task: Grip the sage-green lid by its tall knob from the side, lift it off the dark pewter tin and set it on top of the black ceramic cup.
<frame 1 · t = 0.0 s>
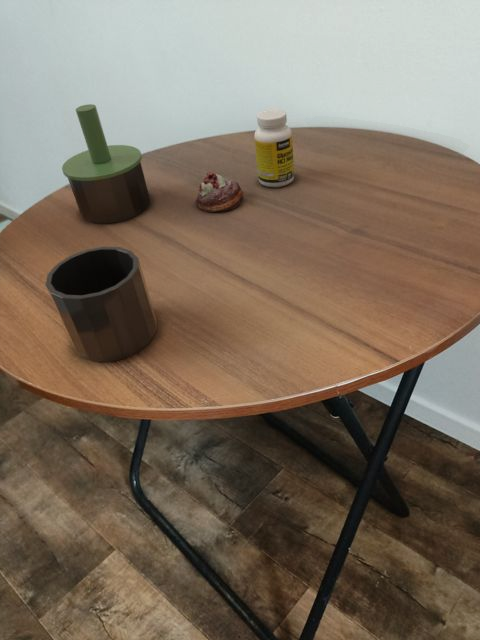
cup: (116, 333, 63), on the table
lid: (102, 163, 83), point 7 cm above the table, touching tin
pastry: (220, 203, 86), on the table
tin: (116, 207, 88), on the table
pill bottle: (276, 181, 90), on the table
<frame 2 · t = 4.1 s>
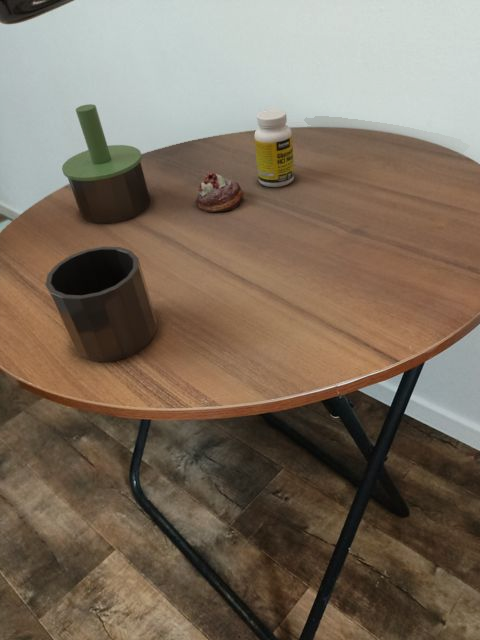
nothing on the table moved.
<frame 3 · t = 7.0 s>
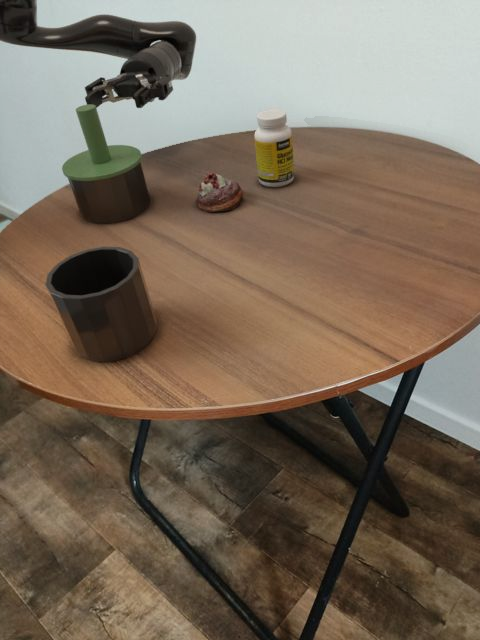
hand: (112, 102, 85), 14 cm above the table, tool horizontal, fingers open, 8 cm apart
nothing on the table moved.
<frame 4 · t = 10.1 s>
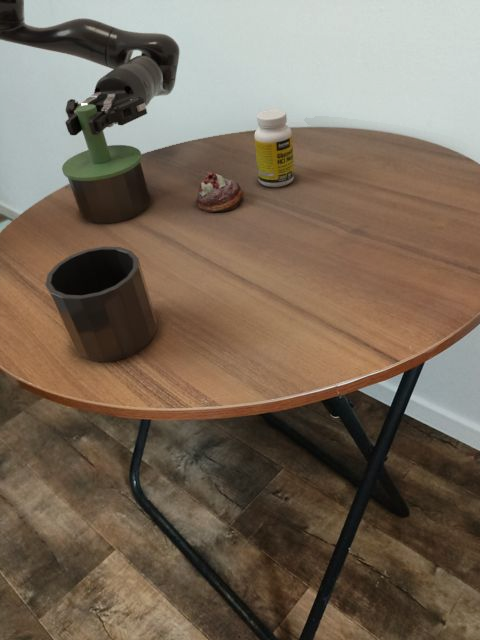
hand: (81, 128, 77), 14 cm above the table, tool horizontal, fingers closed on lid, 3 cm apart
lid: (102, 163, 83), point 7 cm above the table, touching gripper, tin
everything else where it was.
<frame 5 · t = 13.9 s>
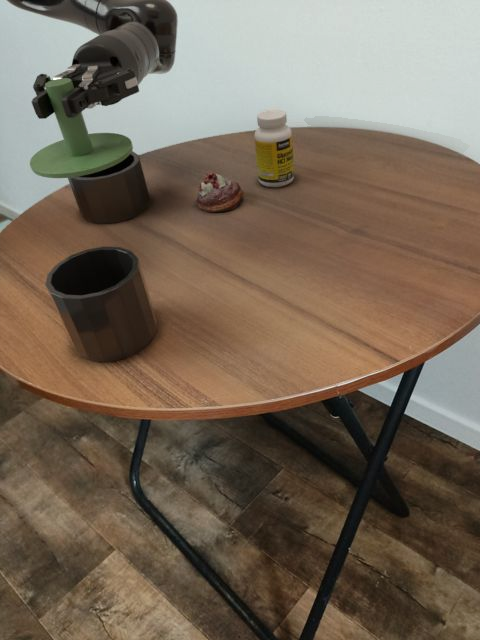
hand: (52, 109, 58), 22 cm above the table, tool horizontal, fingers closed on lid, 3 cm apart
lid: (82, 156, 65), point 15 cm above the table, touching gripper
everything else where it was.
when the fingers open (16 cm above the table, at t = 17.9 s): lid stays where it is, resting on cup.
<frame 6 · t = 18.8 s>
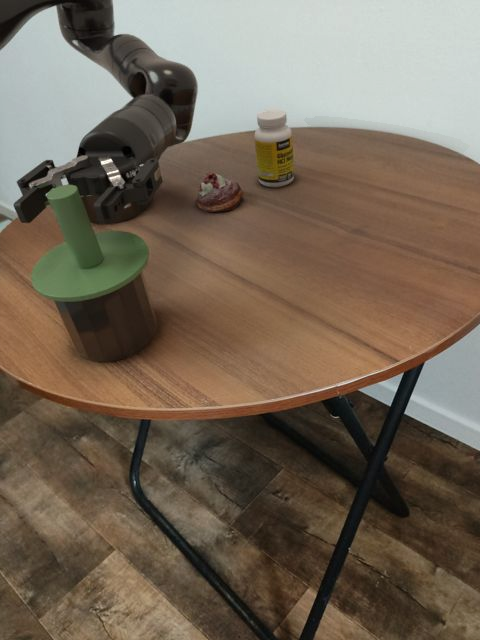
hand: (59, 215, 50), 17 cm above the table, tool horizontal, fingers open, 8 cm apart
lid: (91, 265, 56), point 10 cm above the table, touching cup
everything else where it was.
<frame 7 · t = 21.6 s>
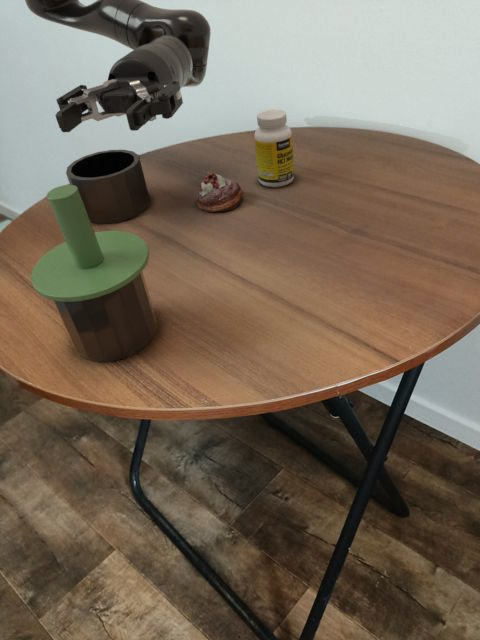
hand: (95, 122, 58), 20 cm above the table, tool horizontal, fingers open, 8 cm apart
nothing on the table moved.
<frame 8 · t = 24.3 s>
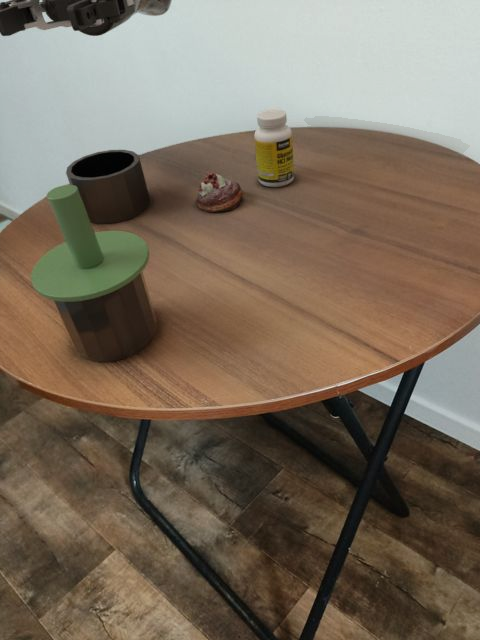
hand: (35, 22, 54), 30 cm above the table, tool horizontal, fingers open, 8 cm apart
nothing on the table moved.
at the end: lid 0.1 cm off-centre on the cup, point 9.6 cm above the cup's base; lid tilted 1°; the gripper is holding nothing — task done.
